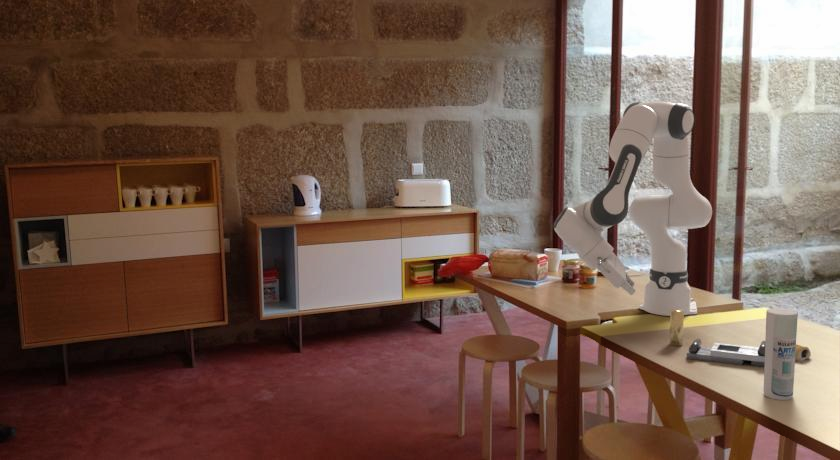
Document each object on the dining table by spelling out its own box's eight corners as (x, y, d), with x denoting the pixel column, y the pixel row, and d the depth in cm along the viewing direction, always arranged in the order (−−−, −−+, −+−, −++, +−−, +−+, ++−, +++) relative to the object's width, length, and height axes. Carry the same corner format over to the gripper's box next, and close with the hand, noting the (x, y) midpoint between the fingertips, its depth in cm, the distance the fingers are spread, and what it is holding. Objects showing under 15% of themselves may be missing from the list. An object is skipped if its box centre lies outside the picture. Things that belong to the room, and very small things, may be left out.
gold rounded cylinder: (670, 342, 226) (671, 308, 224) (683, 343, 224) (684, 309, 223) (668, 345, 223) (669, 311, 221) (681, 346, 221) (682, 312, 220)
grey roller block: (686, 358, 211) (687, 340, 210) (691, 350, 218) (692, 332, 217) (767, 368, 201) (768, 349, 200) (770, 359, 208) (771, 341, 207)
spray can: (782, 389, 185) (786, 307, 183) (799, 399, 179) (804, 313, 176) (757, 391, 184) (760, 308, 182) (773, 401, 178) (777, 315, 175)
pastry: (766, 354, 213) (766, 341, 213) (781, 350, 217) (781, 337, 216) (798, 363, 205) (799, 349, 205) (813, 359, 209) (814, 345, 208)
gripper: (606, 253, 214) (642, 289, 213) (606, 242, 234) (640, 275, 233) (589, 269, 216) (625, 305, 215) (591, 256, 236) (624, 289, 235)
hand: (633, 289), depth 224 cm, fingers open, 8 cm apart
